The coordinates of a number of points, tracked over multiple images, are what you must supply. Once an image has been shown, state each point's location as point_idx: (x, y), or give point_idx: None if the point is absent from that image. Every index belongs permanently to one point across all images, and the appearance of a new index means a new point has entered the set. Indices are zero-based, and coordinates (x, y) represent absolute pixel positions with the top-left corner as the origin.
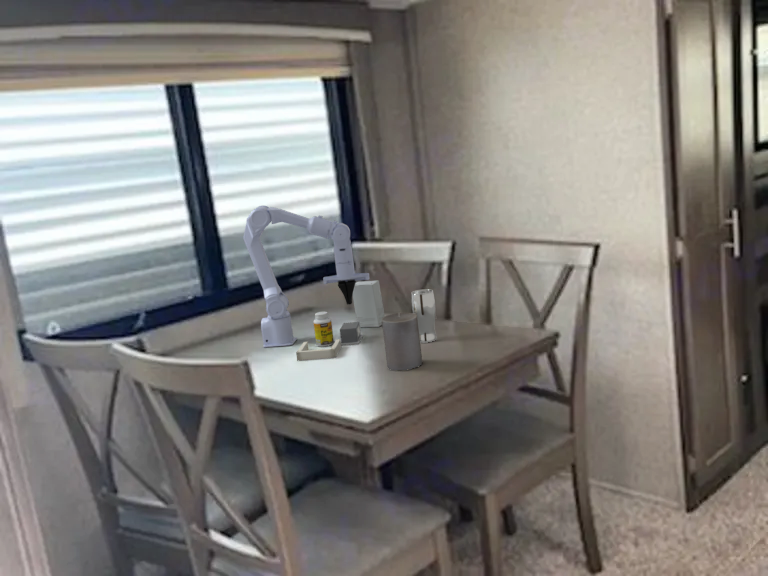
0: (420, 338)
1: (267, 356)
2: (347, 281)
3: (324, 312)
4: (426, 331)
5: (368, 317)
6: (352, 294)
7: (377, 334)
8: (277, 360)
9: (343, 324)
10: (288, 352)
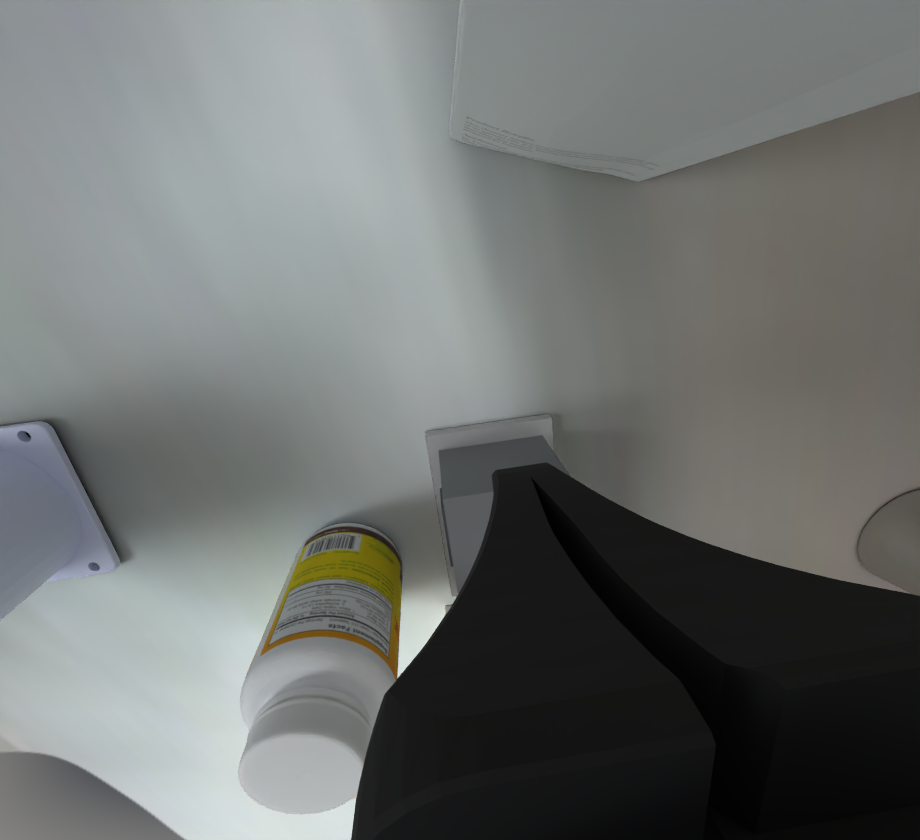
0: (891, 583)
1: (101, 714)
2: (679, 708)
3: (329, 764)
4: None
5: (591, 151)
6: (616, 511)
7: (641, 384)
8: (205, 758)
9: (455, 540)
10: (187, 665)
